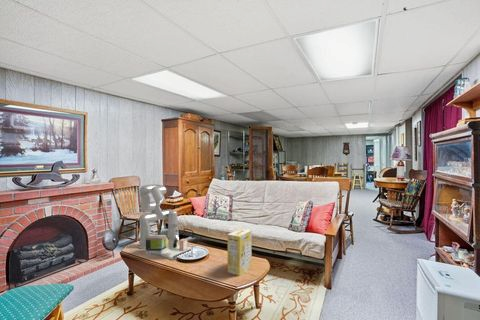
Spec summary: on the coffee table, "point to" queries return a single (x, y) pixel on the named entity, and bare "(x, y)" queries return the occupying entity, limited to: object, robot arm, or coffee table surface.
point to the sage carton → (171, 244)
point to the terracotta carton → (183, 244)
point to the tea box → (155, 244)
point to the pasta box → (239, 251)
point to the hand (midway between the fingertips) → (172, 246)
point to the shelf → (172, 253)
